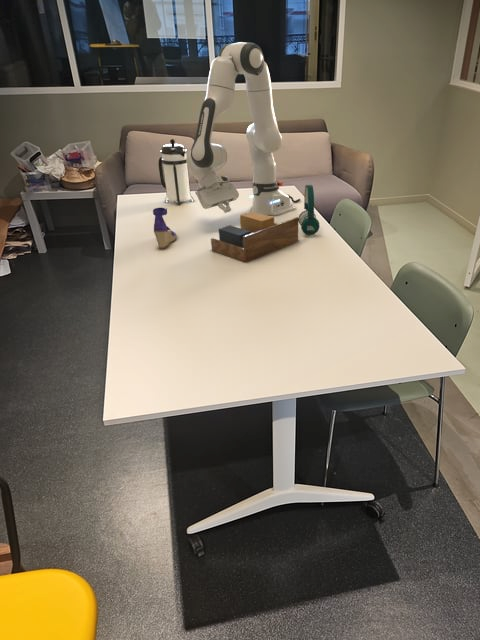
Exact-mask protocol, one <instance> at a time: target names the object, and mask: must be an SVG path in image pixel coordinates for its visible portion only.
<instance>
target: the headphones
mask: <svg viewBox="0 0 480 640" xmlns="http://www.w3.org/2000/svg"><path fill="white" fill-rule="evenodd" d="M303 209H304V211H302V212H301V213H300V214H299V215H298V225H300V227H301V231H302V233H304V234H305V235H306V236H314V235H316V234H317V233H318V232H319V230H320V221H319V220H318V219H317V217H316V213H315V192H314V185H313V184H305V187H304V199H303Z"/></svg>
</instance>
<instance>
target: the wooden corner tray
mask: <svg viewBox="0 0 480 640" xmlns="http://www.w3.org/2000/svg"><path fill="white" fill-rule="evenodd" d="M298 218H299V216H298V217H297V216H296V217H293V218H290V219H287V220H285V221H282V222H278V223H276V222H274V225H273V226H271V227H268V228H265V229H262V230H259V231H257V232H254V233H252V232H251V234H248V235H245V236H243V248H242V247H239V246H236V245H232V244H229V243H226V242H223V241H220V240H219V239H216V238H214V237H212V238H210V245H211V246H210V247H211V251H212V252H215V253H217V254H221V255H224V256H227V257H230V258H231V259H232V258H233V259H235V260H238V261H241V262H244V263H248V262H250V261H252V260H255V259H257V258H260V257H262V256H265V255H267V254H270V253H273V252H275V251H277V250H280V249H282V248H285V247H287V246H290V245H292V244H294V243H297V242H299V222H298Z"/></svg>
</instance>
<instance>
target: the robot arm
mask: <svg viewBox="0 0 480 640" xmlns="http://www.w3.org/2000/svg"><path fill="white" fill-rule="evenodd" d="M238 75H243V76H244V79H245V87H246V88H245V89H246V98H247V107H248V108H247V109H248V112H249V115H250V117H251V120H252V123H251V124H249V126H248V127H247V129H246V132H245V134H246V136H245V137H246V139H247V142H248V147H249V153H250V157H251V163H252V178H253V179H252V180H253V181H252V193H253V194H252V195H249V198H250V199H252V204H251V209H250V212H251V211H253V212H256V213H260V214H264V215H267V216H279V215H282V214H285V213H288V212H291V211H294V210H296V207H295V206H294V205H293V204H291V202H292V203H298V202H300V201H301V198H298V199H296V200H295V199H294V197H293V196H291V195H290V194H289V193H286V192H284V191H283V190H282V189H281V188H280V187H283V185H284V182H283V181H280V180H279V181H278V180H277V163H276V160H275V158H274V153H276V152H278V151H279V150H280V149H281V147H282V144H283V137H282V134H281V132H280V130H279V126H278V122H277V118H276V113H275V109H274V100H273V99H274V98H273V89H272V80H271V76H270V75H271V74H270V71H269V67H268V64H267V62H266V61H265V58H264V54H263V51H262V49H261V47H260V46H259V45H258V44H256V43H254V42H243V41H238V42H235V43H227V44H224V45H223V46H222V47H221V48H220V50H219V52H218V55H217V57H215V58H214V59H213V60H212V61H211V64H210V70H209V74H208V80H207V89H206V94H205V98H204V100H203V102H202V104H201V108H200V111H199V117H198V121H197V122H198V123H197V127H196V134H195V137H194V141H193V143H192V146H191V149H190V151H189V152H188V153H187V154H186V162H187V165H188V166H187V167H188V170H189V171H190V173H191V174H192V176H193V178H195V179H196V181H197V183H198V185H199V186H200V187H199V188H196V189H195V191H194V192H195V195H196V197H197V199H198V201H199V203H200V205H201V207H202V208H203V209H204V210H208V209H212V208H214V207H215V208H216V207H218V208H219V209H220V210H222V211H223V212H224V214H227V213H230V212H231V211H232V208H231V206H230V203H231V202H235V201H236V200H237V199H238V198H239V196H240V193H239V191H238V190H237V188H236V186H235V185H234V184H233V183H232V182H230V178H229V176H225V175H224V176H223V175H219V174H217V173H216V172H217V171H218V170H220V169H221V168H223V167H224V166H225V165H226V163H227V160H228V152H227V150H226V148H225V147H224V146H223V145H221V144H218V143H212V135H213V130H214V125H215V121H216V119H217V118H218V117H219V116H220V115H222V114H224V113H226V112H228V111H229V110H230V109H231V107H232V105H233V102H234V98H235V89H236V78H237V76H238Z"/></svg>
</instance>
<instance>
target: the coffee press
mask: <svg viewBox="0 0 480 640" xmlns="http://www.w3.org/2000/svg"><path fill="white" fill-rule="evenodd" d="M169 142H170V143H168V144H165V145H163V146H162V147H161V149H160V154H161V156H159V159H158V173H159V178H160V183H161V185H162V187H163V188H164V189H165V194H166V197H165V199H164V202H165V203H168V202H169V201H172V202H176V203H177V206H181V202H183V201H184V202H185V201H188V200H189V201H190V202H195V201H194V200H195V199H194V197H193V196H192V192H191V183H190V182H191V181H190V173H189V167H188V165H187V162H186V158H187V152H188V151H187V148H186V147H185V146H184V145H183V144H181V143H176V140H175V139H174V138H171V139H170V140H169ZM166 199H168V200H166Z"/></svg>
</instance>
